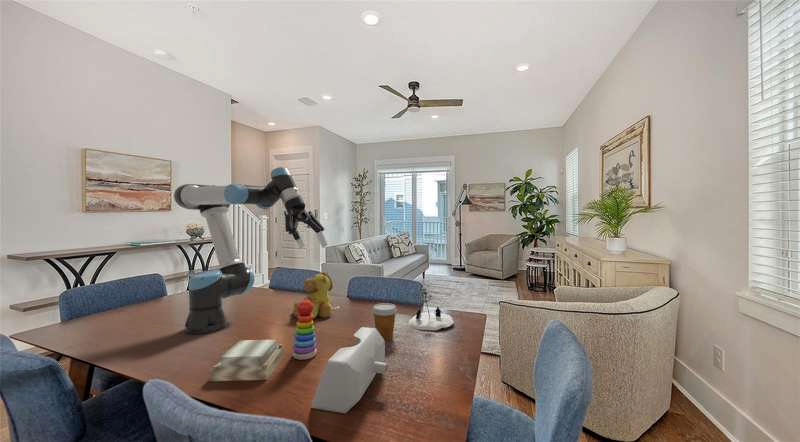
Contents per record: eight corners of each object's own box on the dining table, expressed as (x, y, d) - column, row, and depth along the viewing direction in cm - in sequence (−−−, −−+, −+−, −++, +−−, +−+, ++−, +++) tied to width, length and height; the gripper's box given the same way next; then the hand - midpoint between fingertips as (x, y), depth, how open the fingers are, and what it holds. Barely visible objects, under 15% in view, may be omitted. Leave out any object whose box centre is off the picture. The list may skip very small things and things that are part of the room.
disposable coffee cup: (400, 334, 123) (400, 304, 123) (390, 343, 114) (389, 311, 114) (379, 330, 127) (379, 301, 127) (367, 339, 118) (367, 308, 118)
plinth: (210, 381, 89) (209, 360, 89) (236, 355, 105) (236, 338, 105) (267, 379, 90) (266, 359, 90) (284, 354, 106) (284, 337, 106)
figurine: (455, 316, 142) (451, 280, 142) (452, 331, 124) (448, 291, 124) (412, 317, 147) (408, 283, 146) (404, 332, 129) (399, 293, 129)
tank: (371, 421, 72) (371, 368, 72) (309, 410, 76) (308, 360, 76) (397, 368, 96) (397, 328, 96) (349, 362, 100) (349, 324, 100)
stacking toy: (310, 362, 101) (309, 304, 100) (287, 359, 102) (287, 303, 102) (321, 351, 108) (320, 298, 108) (300, 349, 110) (299, 296, 109)
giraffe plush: (284, 314, 148) (283, 274, 147) (324, 303, 166) (324, 267, 166) (310, 324, 135) (309, 280, 134) (350, 310, 153) (350, 272, 153)
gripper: (275, 191, 113) (299, 241, 108) (319, 199, 136) (340, 241, 131) (262, 203, 115) (284, 252, 110) (307, 209, 138) (327, 250, 133)
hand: (314, 246), depth 120 cm, fingers open, 13 cm apart
